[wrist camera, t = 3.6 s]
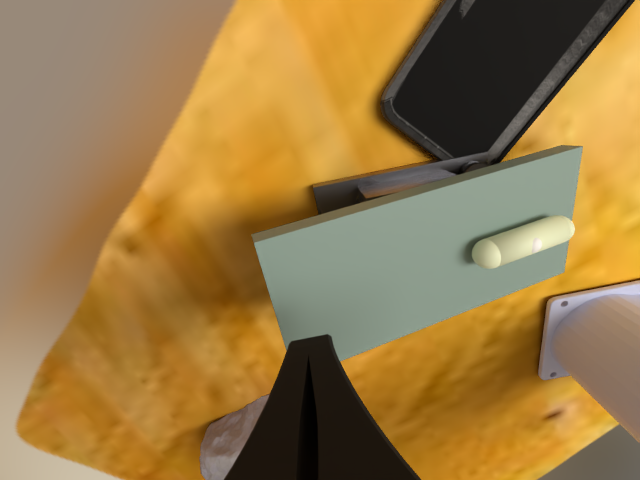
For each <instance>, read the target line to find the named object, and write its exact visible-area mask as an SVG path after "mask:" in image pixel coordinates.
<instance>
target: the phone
mask: <svg viewBox="0 0 640 480" xmlns="http://www.w3.org/2000/svg"><path fill="white" fill-rule="evenodd" d="M634 1H635V0H443V1H442V3H441V4H440V6H439V7H438V9H437V10H436V12H435V13H434V15H433V16H432V18H431V19H430V21H429V22H428V24H427V26H426V27H425V29H424V30H423V32H422V33H421V35H420V36H419V38H418V39H417V41H416V42H415V44H414V46H413V47H412V49H411V50H410V52H409V53H408V55H407V56H406V58H405V59H404V61H403V62H402V64H401V66H400V67H399V69H398V70H397V72H396V73H395V75H394V76H393V78H392V79H391V81H390V82H389V84H388V85H387V87H386V89H385V90H384V92H383V95H382V97H381V103H380V105H381V112H382V114H383V116H384V118H385V119H386V120H387V121H388V122H389V123H391V124H392V125H393V126H395V127H396V128H397V129H398V128H399V130H400V131H401V132H403V133H404V134H405V135H407V136H408V137H409V138H411V139H412V140H413V141H415V142H416V143H417V144H419V145H420V146H421V147H423V148H424V149H426V150H427V151H428V152H430V153H431V154H432V155H434V156H435V157H436V158H438V159H440V160H443V161H444V160H449V159H451V158H456V157H461V156H465V155H470V154H475V153H480V152H485V151H486V152H488V165H489V166H491V165H495V164H498V163H500V162H501V161H502V159H503V158H504V157H505V156H506V155H507V153H508V152H509V151H510V150H511V149H512V147H513V146H514V145H515V144H516V143H517V141H518V140H519V139H520V138H521V137H522V135H523V134H524V133H525V132H526V131H527V129H528V128H529V127H530V126H531V125H532V123H533V122H534V121H535V120H536V119H537V117H538V116H539V115H540V114H541V113H542V111H543V110H544V109H545V108H546V107H547V105H548V104H549V103H550V102H551V101H552V99H553V98H554V97H555V96H556V95H557V93H558V92H559V91H560V90H561V89H562V87H563V86H564V85H565V84H566V83H567V81H568V80H569V79H570V78H571V77H572V75H573V74H574V73H575V72H576V71H577V69H578V68H579V67H580V66H581V65H582V63H583V62H584V61H585V60H586V59H587V57H588V56H589V55H590V54H591V53H592V51H593V50H594V49H595V48H596V47H597V45H598V44H599V43H600V42H601V40H602V39H603V38H604V37H605V36H606V34H607V33H608V32H609V31H610V30H611V28H612V27H613V26H614V25H615V24H616V22H617V21H618V20H619V19H620V18H621V16H622V15H623V14H624V13H625V12H626V10H627V9H628V8H629V7H630V6H631V4H632V3H633V2H634Z"/></svg>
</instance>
